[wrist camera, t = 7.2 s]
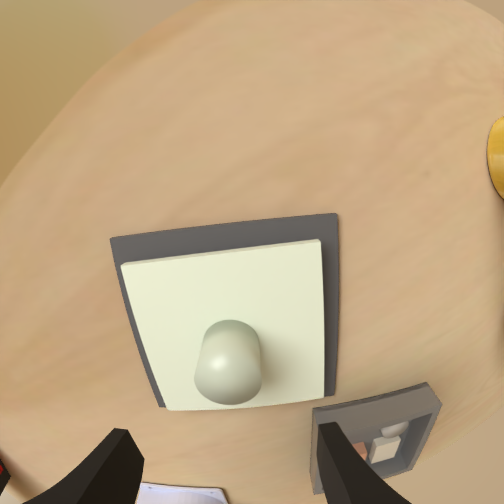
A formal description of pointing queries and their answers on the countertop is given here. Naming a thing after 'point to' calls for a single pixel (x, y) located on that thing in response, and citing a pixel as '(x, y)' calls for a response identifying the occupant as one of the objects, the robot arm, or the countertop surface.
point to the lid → (232, 325)
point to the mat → (235, 238)
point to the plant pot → (496, 155)
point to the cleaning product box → (3, 477)
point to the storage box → (381, 429)
